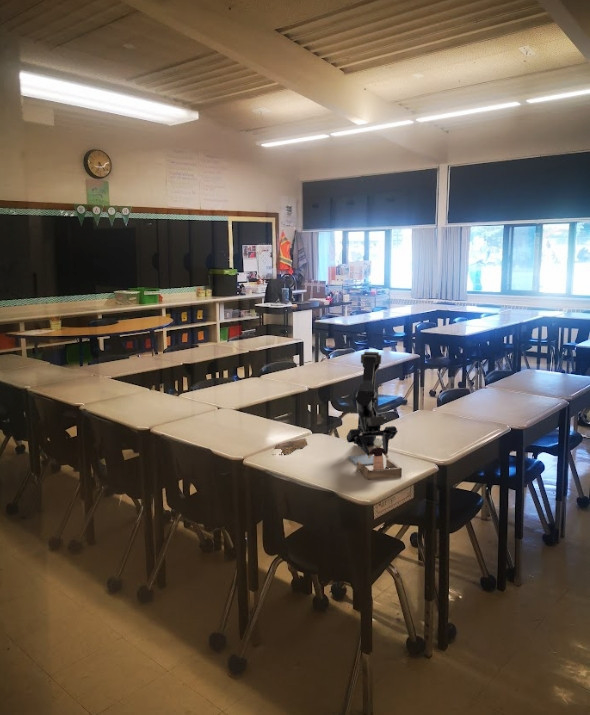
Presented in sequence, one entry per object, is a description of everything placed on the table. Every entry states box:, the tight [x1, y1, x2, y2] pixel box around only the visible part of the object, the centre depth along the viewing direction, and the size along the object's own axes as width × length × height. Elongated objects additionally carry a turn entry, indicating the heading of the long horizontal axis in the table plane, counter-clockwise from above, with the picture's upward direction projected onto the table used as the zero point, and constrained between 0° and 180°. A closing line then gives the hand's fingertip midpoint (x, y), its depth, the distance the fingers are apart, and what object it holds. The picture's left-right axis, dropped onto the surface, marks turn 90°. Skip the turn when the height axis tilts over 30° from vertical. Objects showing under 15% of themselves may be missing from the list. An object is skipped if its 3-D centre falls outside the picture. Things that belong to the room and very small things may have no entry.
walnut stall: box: [356, 458, 403, 481], centre depth 221 cm, size 11×13×3 cm
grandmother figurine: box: [368, 437, 389, 470], centre depth 221 cm, size 8×4×13 cm, turn 109°
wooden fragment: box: [273, 438, 309, 456], centre depth 251 cm, size 26×11×1 cm, turn 145°
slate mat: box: [347, 454, 374, 467], centre depth 234 cm, size 10×10×1 cm
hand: (377, 454), depth 221 cm, fingers closed on grandmother figurine, 7 cm apart
